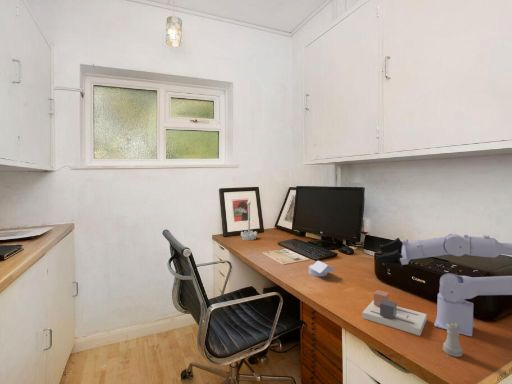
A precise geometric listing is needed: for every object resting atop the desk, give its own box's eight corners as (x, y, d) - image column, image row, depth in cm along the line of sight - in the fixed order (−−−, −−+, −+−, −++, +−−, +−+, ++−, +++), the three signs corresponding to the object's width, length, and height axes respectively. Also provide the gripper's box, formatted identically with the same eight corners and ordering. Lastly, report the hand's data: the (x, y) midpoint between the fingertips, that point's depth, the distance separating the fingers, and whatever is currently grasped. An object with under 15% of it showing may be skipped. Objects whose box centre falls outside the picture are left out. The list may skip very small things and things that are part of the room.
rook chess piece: (461, 360, 71) (462, 329, 71) (441, 353, 74) (441, 323, 73) (463, 352, 74) (464, 323, 74) (443, 345, 77) (444, 317, 77)
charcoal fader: (396, 314, 90) (396, 302, 90) (393, 319, 87) (393, 306, 87) (383, 310, 93) (383, 299, 92) (380, 315, 90) (380, 303, 89)
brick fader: (388, 303, 98) (389, 292, 98) (385, 307, 95) (385, 296, 95) (377, 300, 101) (377, 289, 100) (373, 304, 97) (373, 293, 97)
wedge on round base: (336, 277, 131) (320, 269, 143) (336, 264, 131) (320, 257, 143) (320, 280, 128) (305, 271, 140) (320, 266, 128) (305, 258, 140)
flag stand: (240, 237, 227) (240, 201, 225) (256, 236, 228) (256, 200, 227) (241, 240, 214) (241, 202, 212) (258, 240, 215) (257, 202, 214)
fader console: (426, 319, 91) (426, 313, 91) (420, 335, 82) (420, 329, 82) (373, 305, 102) (373, 300, 102) (362, 318, 93) (362, 312, 93)
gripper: (418, 229, 97) (378, 235, 104) (418, 248, 85) (373, 254, 92) (424, 247, 97) (384, 252, 105) (426, 268, 85) (380, 272, 93)
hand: (379, 254), depth 99 cm, fingers open, 7 cm apart
